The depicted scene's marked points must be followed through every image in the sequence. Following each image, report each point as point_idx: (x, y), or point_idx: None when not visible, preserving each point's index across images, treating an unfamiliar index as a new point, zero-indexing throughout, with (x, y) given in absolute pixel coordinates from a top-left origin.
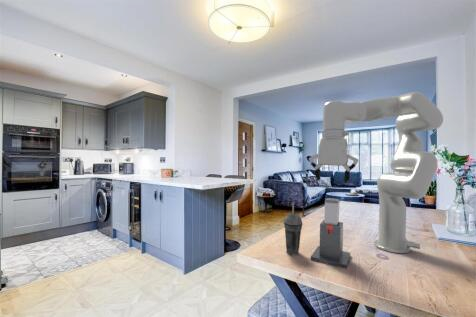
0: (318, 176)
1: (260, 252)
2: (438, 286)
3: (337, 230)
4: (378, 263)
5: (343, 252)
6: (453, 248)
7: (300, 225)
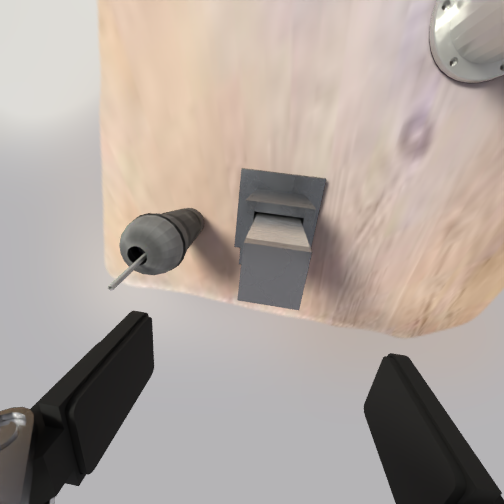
0: (133, 400)
1: None
2: (473, 259)
3: None
4: (387, 196)
5: (308, 185)
6: None
7: (183, 258)
